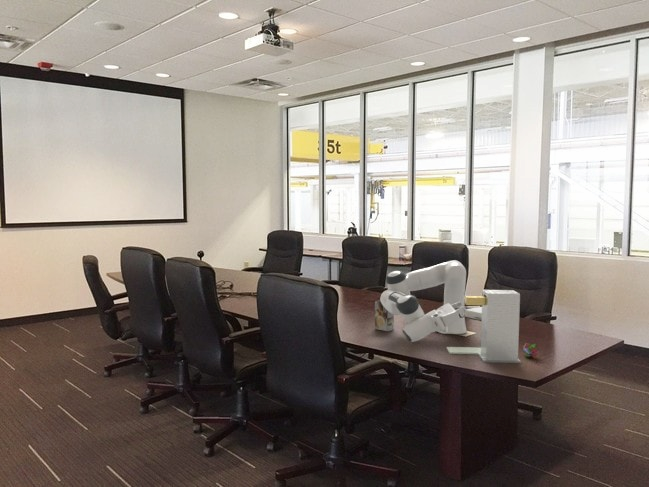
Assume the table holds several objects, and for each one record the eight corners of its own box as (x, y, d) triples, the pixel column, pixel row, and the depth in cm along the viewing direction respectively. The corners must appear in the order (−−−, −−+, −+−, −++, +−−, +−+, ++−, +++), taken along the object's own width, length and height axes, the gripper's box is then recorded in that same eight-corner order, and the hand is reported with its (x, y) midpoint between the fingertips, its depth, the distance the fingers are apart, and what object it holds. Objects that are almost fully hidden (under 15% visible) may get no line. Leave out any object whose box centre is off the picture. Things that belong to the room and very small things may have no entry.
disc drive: (510, 317, 328) (510, 309, 327) (487, 322, 314) (488, 314, 314) (486, 312, 342) (486, 305, 342) (464, 317, 329) (464, 309, 328)
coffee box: (394, 329, 294) (394, 301, 292) (387, 331, 289) (387, 302, 288) (381, 326, 300) (381, 299, 299) (374, 328, 295) (374, 300, 294)
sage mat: (449, 353, 247) (449, 352, 247) (446, 348, 256) (446, 346, 256) (497, 354, 246) (497, 353, 246) (492, 349, 255) (492, 347, 254)
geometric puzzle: (545, 354, 239) (536, 338, 243) (535, 356, 235) (526, 340, 239) (534, 360, 244) (525, 344, 248) (524, 362, 241) (516, 346, 244)
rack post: (484, 362, 234) (485, 293, 232) (478, 355, 245) (480, 289, 243) (520, 362, 233) (522, 294, 231) (513, 355, 244) (515, 290, 242)
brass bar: (466, 305, 236) (466, 297, 236) (464, 303, 240) (465, 296, 240) (509, 305, 235) (509, 298, 235) (507, 304, 239) (507, 296, 238)
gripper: (436, 320, 249) (461, 306, 248) (443, 330, 229) (471, 315, 228) (429, 309, 249) (455, 294, 248) (436, 318, 229) (464, 303, 228)
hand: (463, 305), depth 238 cm, fingers open, 8 cm apart
